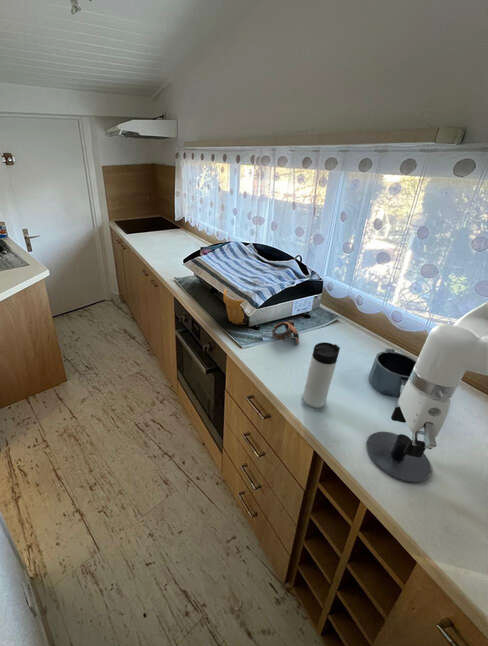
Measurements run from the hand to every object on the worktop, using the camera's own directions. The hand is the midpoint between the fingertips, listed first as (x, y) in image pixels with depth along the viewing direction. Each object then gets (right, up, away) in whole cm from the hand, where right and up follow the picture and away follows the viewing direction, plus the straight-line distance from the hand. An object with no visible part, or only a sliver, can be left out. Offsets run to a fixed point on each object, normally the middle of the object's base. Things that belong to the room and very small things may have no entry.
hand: (404, 436), depth 71 cm
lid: (0, -6, +3) cm, 7 cm away
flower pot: (-28, +24, +62) cm, 73 cm away
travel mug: (-13, +2, +20) cm, 24 cm away
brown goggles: (-12, +17, +49) cm, 53 cm away
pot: (+14, +5, +26) cm, 30 cm away
